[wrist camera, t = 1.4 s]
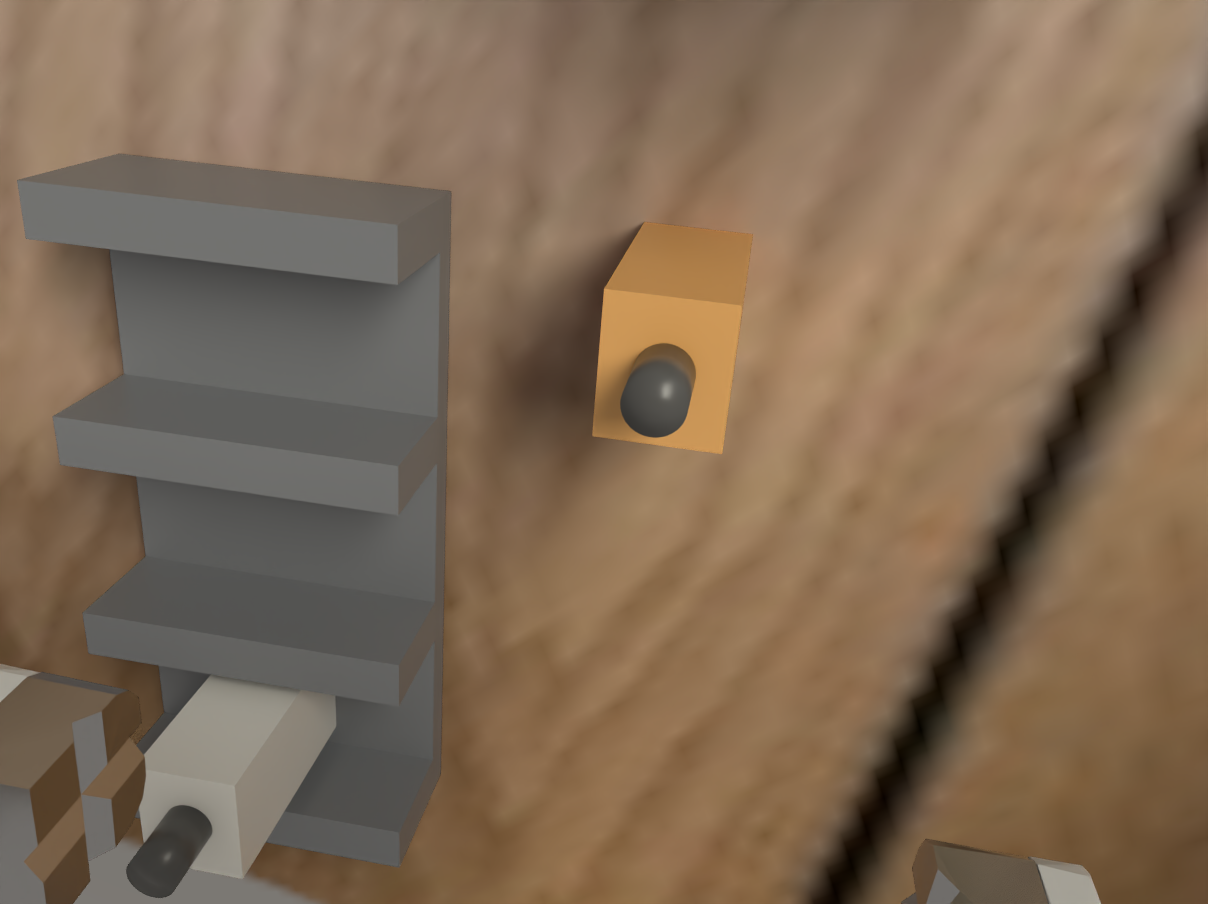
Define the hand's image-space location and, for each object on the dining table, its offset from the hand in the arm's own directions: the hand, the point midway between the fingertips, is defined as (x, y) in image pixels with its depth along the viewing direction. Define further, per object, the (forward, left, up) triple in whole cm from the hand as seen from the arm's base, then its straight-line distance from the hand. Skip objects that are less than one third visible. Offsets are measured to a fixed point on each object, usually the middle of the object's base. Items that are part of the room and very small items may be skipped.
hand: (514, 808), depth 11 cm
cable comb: (+12, +9, -21) cm, 26 cm away
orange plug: (0, 0, -21) cm, 21 cm away
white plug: (+12, +15, -20) cm, 28 cm away
